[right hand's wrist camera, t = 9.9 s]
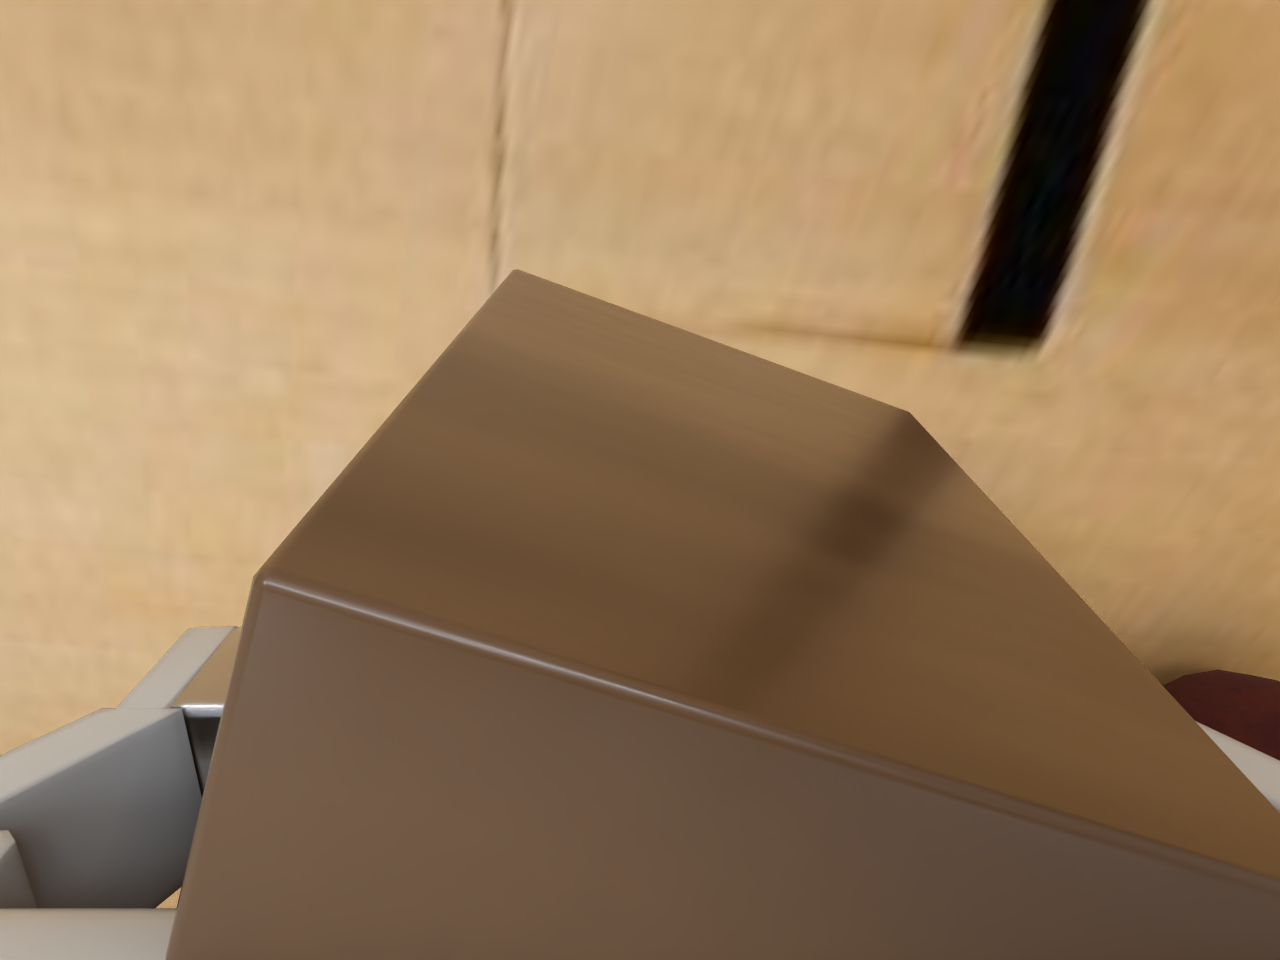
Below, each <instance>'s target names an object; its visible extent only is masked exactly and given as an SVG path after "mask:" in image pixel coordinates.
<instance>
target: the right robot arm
mask: <svg viewBox="0 0 1280 960" xmlns="http://www.w3.org/2000/svg"><path fill="white" fill-rule="evenodd" d="M241 628H242V627H240V628H239V627H237V626H212V627H195V628H190V629H187V630H186V632H185V633H184V634H183V635H182V636H181V637H180V638H179V639H178V640H177V641H176V643H175V644H174V645H173V646H172V647H171V648H170V649H169V650H168V651H167V653H166V654H165V655H164V656H163V657H162V658H161V659H160V660H159V661H158V663H157V664H156V665H155V666H154V667H153V668H152V669H151V670H150V671H149V673H148V674H147V675H146V676H145V677H144V678H143V679H142V680H141V681H140V683H139V684H138V685H137V686H136V687H135V688H134V689H133V690H132V691H131V693H130V694H129V695H128V696H127V697H126V698H125V699H124V700H123V701H122V703H121V704H120V705H119V706H118V707H117V708H102V709H99V710H97V711H95V712H93V713H91V714H89V715H87V716H84V717H82V718H80V719H78V720H76V721H74V722H71V723H69V724H67V725H65V726H63V727H61V728H59V729H56V730H54V731H52V732H50V733H48V734H46V735H43V736H41V737H39V738H37V739H35V740H33V741H31V742H28V743H26V744H24V745H22V746H20V747H18V748H16V749H13V750H11V751H9V752H7V753H5V754H3V755H0V960H166V952H167V948H168V944H169V939H170V935H171V931H172V926H173V922H174V918H175V913H176V909H177V908H156V907H157V906H158V905H159V904H161V903H162V902H163V901H164V900H166V899H167V898H168V897H169V896H170V895H172V894H173V893H174V892H175V891H177V890H178V889H179V888H180V887H181V886H182V883H183V879H184V874H185V870H186V866H187V862H188V857H189V853H190V849H191V844H192V840H193V836H194V831H195V827H196V823H197V818H198V814H199V810H200V805H201V801H202V797H203V792H204V788H205V784H206V779H207V775H208V771H209V766H210V762H211V758H212V753H213V749H214V745H215V741H216V736H217V732H218V728H219V723H220V719H221V715H222V710H223V706H224V702H225V697H226V693H227V689H228V684H229V680H230V676H231V671H232V667H233V663H234V658H235V654H236V650H237V645H238V641H239V637H240V632H241ZM1195 722H1196V721H1195ZM1196 723H1197V724H1198V725H1199V726H1200V727H1201V728H1202V729H1203V730H1204V731H1205V732H1206V733H1207V735H1208V736H1209V737H1210V738H1211V739H1212V740H1213V741H1214V742H1215V743H1216V744H1217V745H1218V746H1219V748H1220V749H1221V750H1222V751H1223V752H1224V753H1225V754H1226V755H1227V756H1228V757H1229V758H1230V759H1231V761H1232V762H1233V763H1234V764H1235V765H1236V766H1237V767H1238V768H1239V769H1240V770H1241V771H1242V772H1243V774H1244V775H1245V776H1246V777H1247V778H1248V779H1249V780H1250V781H1251V782H1252V783H1253V784H1254V785H1255V786H1256V788H1257V789H1258V790H1259V791H1260V792H1261V793H1262V794H1263V795H1264V796H1265V797H1266V798H1267V799H1268V801H1269V802H1270V803H1271V804H1272V805H1273V806H1274V807H1275V808H1276V809H1277V810H1278V811H1279V812H1280V761H1279V760H1277V759H1275V758H1273V757H1271V756H1268V755H1266V754H1264V753H1262V752H1260V751H1258V750H1256V749H1254V748H1251V747H1249V746H1247V745H1245V744H1243V743H1241V742H1239V741H1237V740H1234V739H1232V738H1230V737H1228V736H1226V735H1224V734H1222V733H1220V732H1217V731H1215V730H1213V729H1211V728H1209V727H1207V726H1205V725H1202V724H1200V723H1198V722H1196Z"/></svg>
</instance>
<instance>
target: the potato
mask: <svg viewBox="0 0 1280 960" xmlns="http://www.w3.org/2000/svg"><path fill="white" fill-rule="evenodd" d="M1163 687H1164V688H1165V689H1166V690H1167V691H1168V692H1169V693H1170V695H1171V696H1172V697H1173V698H1174V699H1175V700H1176V701H1177V702H1178V703H1179V704H1180V705H1181V706H1182V708H1183V709H1184V710H1185V711H1186V712H1187V713H1188V714H1189V715H1190V716H1191V717H1192V718H1193V719H1194V721H1196V722H1198V723H1200V724H1202V725H1205V726H1207V727H1209V728H1211V729H1213V730H1215V731H1217V732H1220V733H1222V734H1224V735H1226V736H1228V737H1230V738H1232V739H1234V740H1237V741H1239V742H1241V743H1243V744H1245V745H1247V746H1249V747H1251V748H1254V749H1256V750H1258V751H1260V752H1262V753H1264V754H1266V755H1268V756H1271V757H1273V758H1275V759H1277V760H1279V761H1280V682H1279V681H1277V680H1272V679H1267V678H1262V677H1257V676H1252V675H1246V674H1240V673H1234V672H1228V671H1222V670H1214V671H1208V672H1202V673H1196V674H1190V675H1184V676H1182V677H1180V678H1178V679H1176V680H1174V681H1172V682H1170V683H1168V684H1166V685H1164V686H1163Z"/></svg>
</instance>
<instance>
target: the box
mask: <svg viewBox="0 0 1280 960" xmlns="http://www.w3.org/2000/svg"><path fill="white" fill-rule="evenodd" d="M166 960H1280V812H1279V811H1278V810H1277V809H1276V808H1275V807H1274V806H1273V805H1272V804H1271V803H1270V802H1269V801H1268V799H1267V798H1266V797H1265V796H1264V795H1263V794H1262V793H1261V792H1260V791H1259V790H1258V789H1257V788H1256V786H1255V785H1254V784H1253V783H1252V782H1251V781H1250V780H1249V779H1248V778H1247V777H1246V776H1245V775H1244V774H1243V772H1242V771H1241V770H1240V769H1239V768H1238V767H1237V766H1236V765H1235V764H1234V763H1233V762H1232V761H1231V759H1230V758H1229V757H1228V756H1227V755H1226V754H1225V753H1224V752H1223V751H1222V750H1221V749H1220V748H1219V746H1218V745H1217V744H1216V743H1215V742H1214V741H1213V740H1212V739H1211V738H1210V737H1209V736H1208V735H1207V733H1206V732H1205V731H1204V730H1203V729H1202V728H1201V727H1200V726H1199V725H1198V724H1197V723H1196V722H1195V721H1194V719H1193V718H1192V717H1191V716H1190V715H1189V714H1188V713H1187V712H1186V711H1185V710H1184V709H1183V708H1182V706H1181V705H1180V704H1179V703H1178V702H1177V701H1176V700H1175V699H1174V698H1173V697H1172V696H1171V695H1170V693H1169V692H1168V691H1167V690H1166V689H1165V688H1164V687H1163V686H1162V685H1161V684H1160V683H1159V682H1158V680H1157V679H1156V678H1155V677H1154V676H1153V675H1152V674H1151V673H1150V672H1149V671H1148V670H1147V669H1146V668H1145V666H1144V665H1143V664H1142V663H1141V662H1140V661H1139V660H1138V659H1137V658H1136V657H1135V656H1134V655H1133V653H1132V652H1131V651H1130V650H1129V649H1128V648H1127V647H1126V646H1125V645H1124V644H1123V643H1122V642H1121V640H1120V639H1119V638H1118V637H1117V636H1116V635H1115V634H1114V633H1113V632H1112V631H1111V630H1110V629H1109V627H1108V626H1107V625H1106V624H1105V623H1104V622H1103V621H1102V620H1101V619H1100V618H1099V617H1098V616H1097V615H1096V613H1095V612H1094V611H1093V610H1092V609H1091V608H1090V607H1089V606H1088V605H1087V604H1086V603H1085V602H1084V600H1083V599H1082V598H1081V597H1080V596H1079V595H1078V594H1077V593H1076V592H1075V591H1074V590H1073V589H1072V587H1071V586H1070V585H1069V584H1068V583H1067V582H1066V581H1065V580H1064V579H1063V578H1062V577H1061V576H1060V574H1059V573H1058V572H1057V571H1056V570H1055V569H1054V568H1053V567H1052V566H1051V565H1050V564H1049V563H1048V562H1047V560H1046V559H1045V558H1044V557H1043V556H1042V555H1041V554H1040V553H1039V552H1038V551H1037V550H1036V549H1035V547H1034V546H1033V545H1032V544H1031V543H1030V542H1029V541H1028V540H1027V539H1026V538H1025V537H1024V536H1023V534H1022V533H1021V532H1020V531H1019V530H1018V529H1017V528H1016V527H1015V526H1014V525H1013V524H1012V523H1011V521H1010V520H1009V519H1008V518H1007V517H1006V516H1005V515H1004V514H1003V513H1002V512H1001V511H1000V510H999V509H998V507H997V506H996V505H995V504H994V503H993V502H992V501H991V500H990V499H989V498H988V497H987V496H986V494H985V493H984V492H983V491H982V490H981V489H980V488H979V487H978V486H977V485H976V484H975V483H974V481H973V480H972V479H971V478H970V477H969V476H968V475H967V474H966V473H965V472H964V471H963V470H962V469H961V467H960V466H959V465H958V464H957V463H956V462H955V461H954V460H953V459H952V458H951V457H950V456H949V454H948V453H947V452H946V451H945V450H944V449H943V448H942V447H941V446H940V445H939V444H938V443H937V441H936V440H935V439H934V438H933V437H932V436H931V435H930V434H929V433H928V432H927V431H926V430H925V428H924V427H923V426H922V425H921V424H920V423H919V422H918V421H917V420H916V419H915V418H914V417H913V416H912V415H911V414H910V413H909V412H907V411H904V410H902V409H899V408H896V407H893V406H891V405H888V404H885V403H882V402H880V401H877V400H874V399H872V398H869V397H866V396H863V395H861V394H858V393H855V392H852V391H850V390H847V389H844V388H841V387H839V386H836V385H833V384H830V383H828V382H825V381H822V380H819V379H817V378H814V377H811V376H808V375H806V374H803V373H800V372H797V371H795V370H792V369H789V368H786V367H784V366H781V365H778V364H776V363H773V362H770V361H767V360H765V359H762V358H759V357H756V356H754V355H751V354H748V353H745V352H743V351H740V350H737V349H734V348H732V347H729V346H726V345H723V344H721V343H718V342H715V341H712V340H710V339H707V338H704V337H701V336H699V335H696V334H693V333H690V332H688V331H685V330H682V329H680V328H677V327H674V326H671V325H669V324H666V323H663V322H660V321H658V320H655V319H652V318H649V317H647V316H644V315H641V314H638V313H636V312H633V311H630V310H627V309H625V308H622V307H619V306H616V305H614V304H611V303H608V302H605V301H603V300H600V299H597V298H594V297H592V296H589V295H586V294H584V293H581V292H578V291H575V290H573V289H570V288H567V287H564V286H562V285H559V284H556V283H553V282H551V281H548V280H545V279H542V278H540V277H537V276H534V275H531V274H529V273H526V272H523V271H520V270H513V271H512V272H511V273H510V274H509V276H508V277H507V278H506V279H505V280H504V281H503V283H502V284H501V285H500V286H499V287H498V289H497V290H496V291H495V292H494V293H493V294H492V296H491V297H490V298H489V299H488V300H487V302H486V303H485V304H484V305H483V306H482V307H481V309H480V310H479V311H478V312H477V313H476V315H475V316H474V317H473V318H472V319H471V320H470V322H469V323H468V324H467V325H466V326H465V327H464V329H463V330H462V331H461V332H460V333H459V335H458V336H457V337H456V338H455V339H454V340H453V342H452V343H451V344H450V345H449V346H448V348H447V349H446V350H445V351H444V352H443V353H442V355H441V356H440V357H439V358H438V359H437V361H436V362H435V363H434V364H433V365H432V366H431V368H430V369H429V370H428V371H427V372H426V374H425V375H424V376H423V377H422V378H421V379H420V381H419V382H418V383H417V384H416V385H415V386H414V388H413V389H412V390H411V391H410V392H409V394H408V395H407V396H406V397H405V398H404V399H403V401H402V402H401V403H400V404H399V405H398V407H397V408H396V409H395V410H394V411H393V412H392V414H391V415H390V416H389V417H388V418H387V420H386V421H385V422H384V423H383V424H382V425H381V427H380V428H379V429H378V430H377V431H376V433H375V434H374V435H373V436H372V437H371V438H370V440H369V441H368V442H367V443H366V444H365V445H364V447H363V448H362V449H361V450H360V451H359V453H358V454H357V455H356V456H355V457H354V458H353V460H352V461H351V462H350V463H349V464H348V466H347V467H346V468H345V469H344V470H343V471H342V473H341V474H340V475H339V476H338V477H337V479H336V480H335V481H334V482H333V483H332V484H331V486H330V487H329V488H328V489H327V490H326V492H325V493H324V494H323V495H322V496H321V497H320V499H319V500H318V501H317V502H316V503H315V504H314V506H313V507H312V508H311V509H310V510H309V512H308V513H307V514H306V515H305V516H304V517H303V519H302V520H301V521H300V522H299V523H298V525H297V526H296V527H295V528H294V529H293V530H292V532H291V533H290V534H289V535H288V536H287V538H286V539H285V540H284V541H283V542H282V543H281V545H280V546H279V547H278V548H277V549H276V550H275V552H274V553H273V554H272V555H271V556H270V558H269V559H268V560H267V561H266V562H265V563H264V565H263V566H262V567H261V568H260V569H259V571H258V572H257V573H256V574H255V575H254V576H253V581H252V585H251V589H250V594H249V598H248V602H247V607H246V611H245V615H244V619H243V624H242V628H241V632H240V637H239V641H238V645H237V650H236V654H235V658H234V663H233V667H232V671H231V676H230V680H229V684H228V689H227V693H226V697H225V702H224V706H223V710H222V715H221V719H220V723H219V728H218V732H217V736H216V741H215V745H214V749H213V753H212V758H211V762H210V766H209V771H208V775H207V779H206V784H205V788H204V792H203V797H202V801H201V805H200V810H199V814H198V818H197V823H196V827H195V831H194V836H193V840H192V844H191V849H190V853H189V857H188V862H187V866H186V870H185V874H184V879H183V883H182V887H181V892H180V896H179V900H178V905H177V909H176V913H175V918H174V922H173V926H172V931H171V935H170V939H169V944H168V948H167V952H166Z"/></svg>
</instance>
